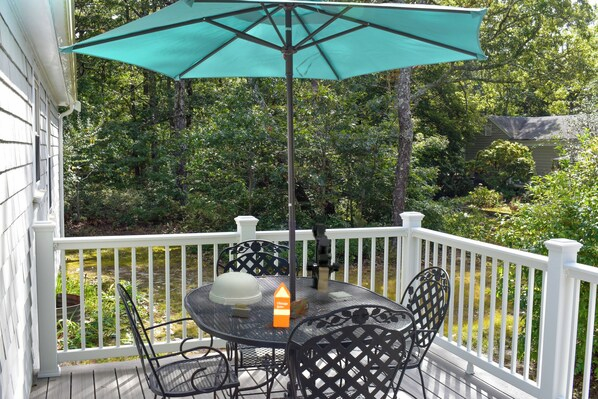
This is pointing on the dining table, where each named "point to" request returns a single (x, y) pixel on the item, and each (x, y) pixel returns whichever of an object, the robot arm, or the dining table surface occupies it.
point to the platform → (240, 310)
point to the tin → (299, 308)
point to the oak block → (323, 279)
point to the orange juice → (281, 307)
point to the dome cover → (235, 289)
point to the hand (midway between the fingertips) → (323, 279)
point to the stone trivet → (339, 295)
